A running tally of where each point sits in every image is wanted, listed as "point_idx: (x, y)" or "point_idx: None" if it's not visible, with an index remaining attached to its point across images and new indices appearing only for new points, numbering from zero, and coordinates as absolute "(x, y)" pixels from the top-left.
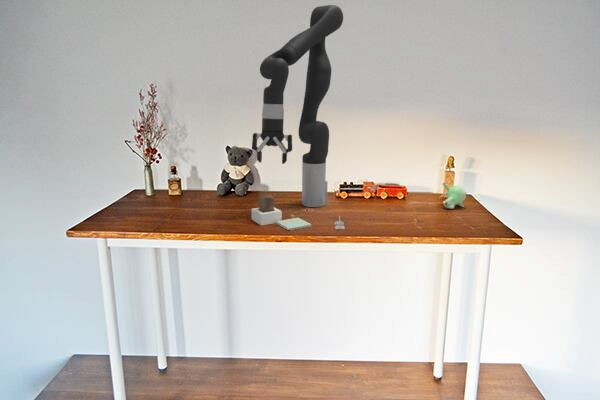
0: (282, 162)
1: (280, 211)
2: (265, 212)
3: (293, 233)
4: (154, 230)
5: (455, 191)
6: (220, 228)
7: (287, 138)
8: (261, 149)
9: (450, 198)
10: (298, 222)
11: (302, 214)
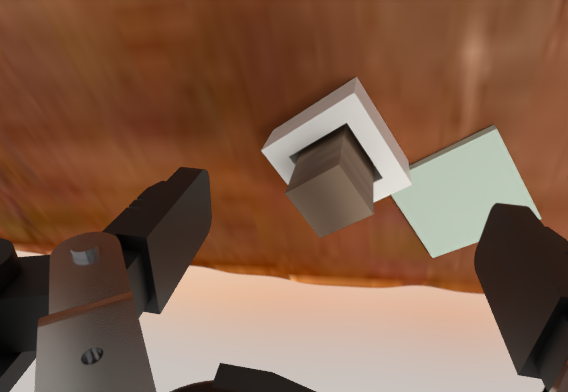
0: (482, 272)
1: (405, 187)
2: None
3: (447, 274)
4: (31, 237)
5: None
6: None
7: None
8: (121, 275)
9: None
10: (484, 196)
11: (538, 26)
